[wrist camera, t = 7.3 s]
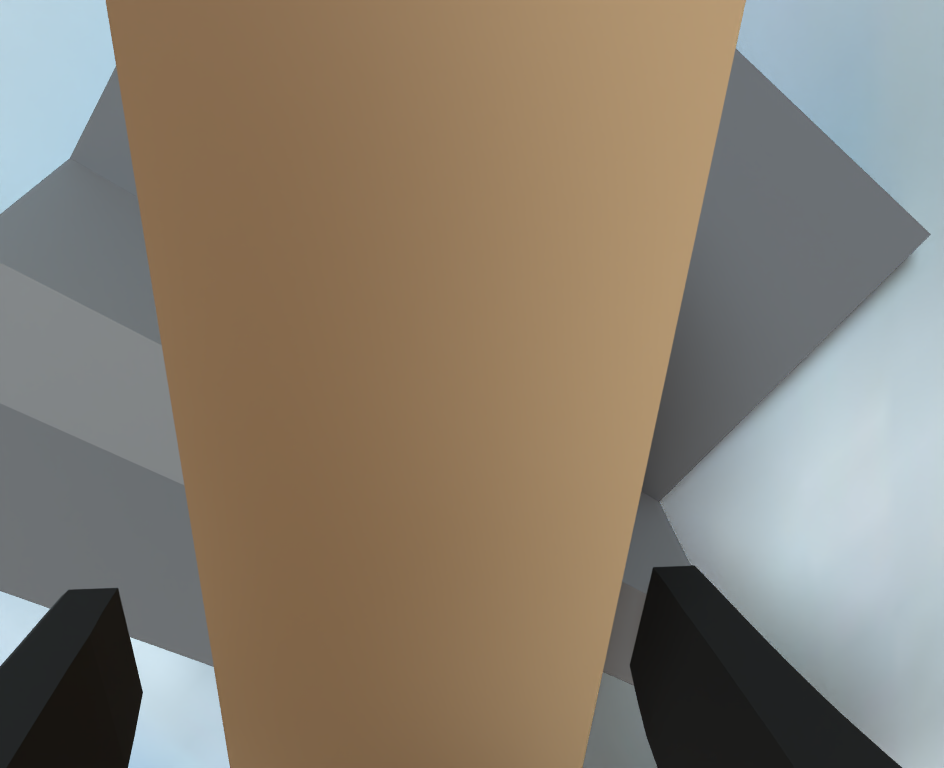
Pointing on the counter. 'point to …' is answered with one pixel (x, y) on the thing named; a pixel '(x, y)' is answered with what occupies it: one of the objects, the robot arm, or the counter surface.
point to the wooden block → (416, 346)
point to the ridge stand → (147, 393)
